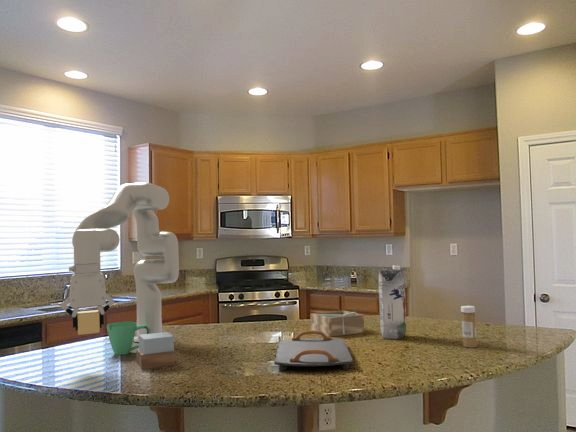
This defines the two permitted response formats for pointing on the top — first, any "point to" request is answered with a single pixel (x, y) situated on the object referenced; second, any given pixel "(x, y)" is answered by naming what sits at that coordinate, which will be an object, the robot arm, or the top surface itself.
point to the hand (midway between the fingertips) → (88, 327)
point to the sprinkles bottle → (468, 326)
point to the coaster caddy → (337, 323)
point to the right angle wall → (336, 316)
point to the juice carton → (392, 303)
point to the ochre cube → (88, 322)
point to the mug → (123, 336)
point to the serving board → (312, 351)
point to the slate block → (156, 343)
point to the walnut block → (155, 359)
